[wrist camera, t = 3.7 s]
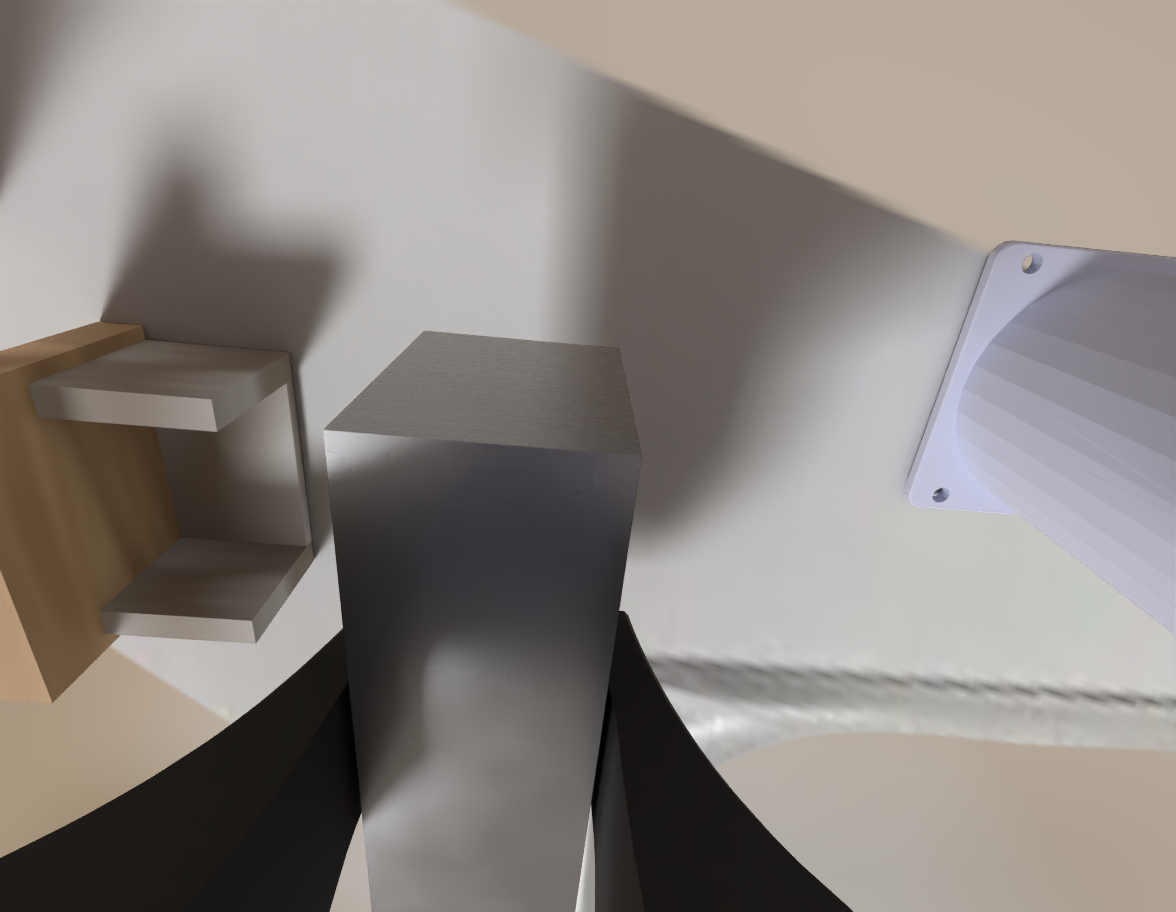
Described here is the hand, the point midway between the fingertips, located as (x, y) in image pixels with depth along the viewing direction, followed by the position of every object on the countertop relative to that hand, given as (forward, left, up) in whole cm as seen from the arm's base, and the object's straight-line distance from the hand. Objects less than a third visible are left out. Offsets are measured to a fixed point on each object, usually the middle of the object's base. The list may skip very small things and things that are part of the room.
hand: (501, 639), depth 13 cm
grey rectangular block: (0, 0, -2) cm, 2 cm away
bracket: (+9, 0, -7) cm, 12 cm away
